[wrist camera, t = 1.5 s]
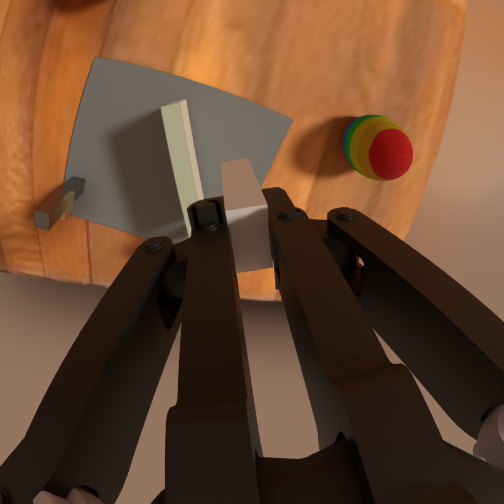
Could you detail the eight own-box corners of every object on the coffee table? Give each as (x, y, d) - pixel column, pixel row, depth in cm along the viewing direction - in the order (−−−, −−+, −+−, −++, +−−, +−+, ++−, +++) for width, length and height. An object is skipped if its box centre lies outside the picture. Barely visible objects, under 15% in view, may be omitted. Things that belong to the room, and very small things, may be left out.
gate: (208, 211, 38) (207, 249, 30) (196, 213, 38) (192, 252, 30) (188, 98, 29) (178, 103, 22) (174, 101, 29) (160, 107, 22)
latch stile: (72, 190, 34) (34, 229, 24) (75, 172, 32) (34, 206, 23) (87, 195, 34) (52, 235, 25) (91, 176, 33) (54, 212, 24)
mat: (61, 210, 35) (60, 211, 35) (96, 56, 25) (95, 56, 24) (226, 260, 43) (226, 261, 43) (292, 119, 33) (293, 119, 33)
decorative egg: (396, 143, 36) (439, 164, 27) (358, 179, 38) (394, 209, 30) (365, 99, 32) (409, 109, 24) (323, 137, 34) (357, 158, 26)
